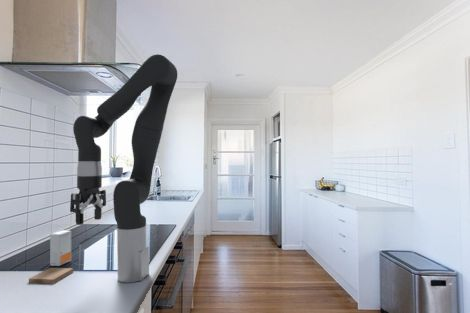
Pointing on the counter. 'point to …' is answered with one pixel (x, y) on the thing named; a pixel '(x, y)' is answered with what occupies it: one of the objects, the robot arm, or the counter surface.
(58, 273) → the plate
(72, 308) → the counter surface
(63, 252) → the skincare box
